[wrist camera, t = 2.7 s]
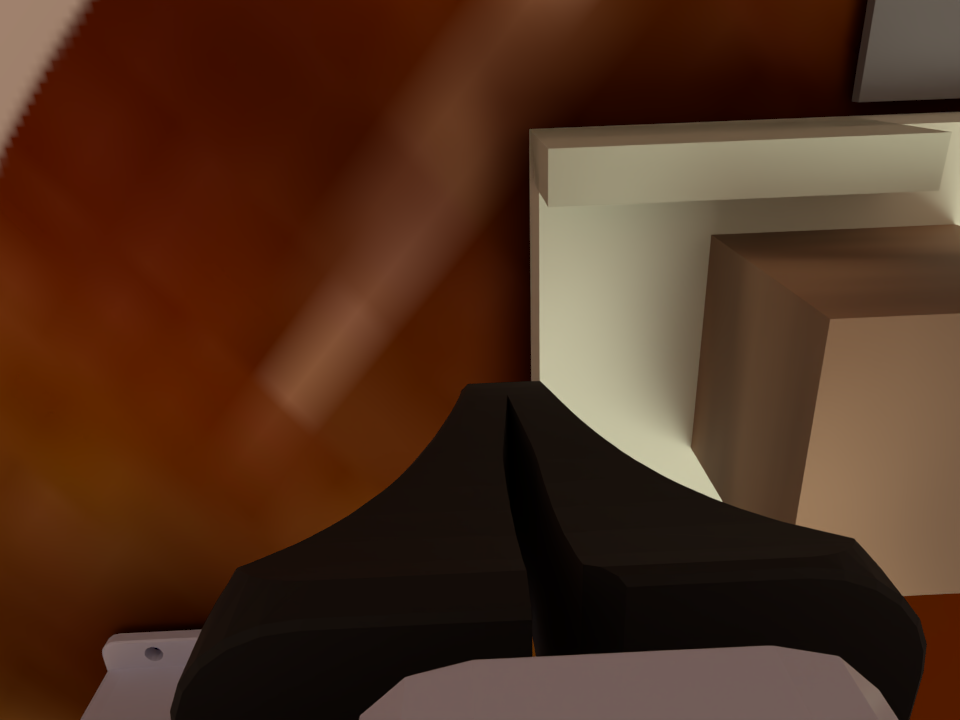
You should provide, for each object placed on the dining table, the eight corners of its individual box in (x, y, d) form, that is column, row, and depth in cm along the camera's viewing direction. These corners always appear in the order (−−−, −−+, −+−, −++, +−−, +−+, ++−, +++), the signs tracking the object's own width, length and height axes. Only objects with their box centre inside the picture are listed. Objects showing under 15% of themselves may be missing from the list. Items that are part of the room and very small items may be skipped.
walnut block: (690, 448, 16) (781, 601, 12) (711, 234, 14) (829, 318, 10) (905, 438, 16) (1079, 587, 12) (955, 224, 14) (1186, 303, 10)
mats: (602, 567, 20) (605, 574, 20) (627, -32, 14) (630, -34, 14) (985, 548, 20) (992, 555, 20) (1167, -52, 14) (1181, -54, 14)
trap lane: (531, 481, 19) (557, 624, 14) (529, 129, 15) (561, 163, 11) (1158, 451, 19) (1391, 583, 14) (1299, 97, 16) (1671, 116, 11)
